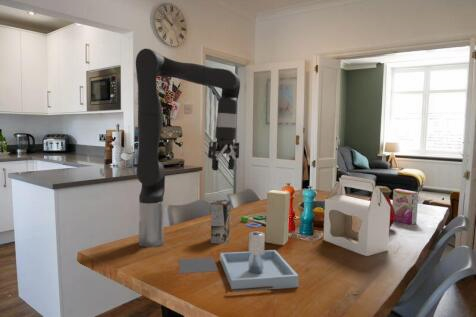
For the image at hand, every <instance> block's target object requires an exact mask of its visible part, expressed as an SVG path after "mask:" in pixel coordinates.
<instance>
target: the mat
mask: <svg viewBox="0 0 476 317" xmlns="http://www.w3.org/2000/svg"><path fill="white" fill-rule="evenodd" d="M178 266H179V274H180V275H182V274H196V273H209V272H211V273H213V272H218V271H219V269H218V267H217V264H216V262H215V258H214V257H213V256H212V257H197V258H196V257H195V258H194V257H193V258H180V259H179V258H178Z"/></svg>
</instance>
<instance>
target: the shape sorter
mask: <svg viewBox="0 0 476 317" xmlns="http://www.w3.org/2000/svg"><path fill="white" fill-rule="evenodd" d="M295 217H296V218H295ZM295 217H294V218H295V220H294V221H296V220H300V219H301V217H299V216H298V215H295ZM299 218H300V219H299ZM249 221H252V222H251V223H248V222H249ZM240 222H242V223H243V222H244V223H246V224H245V227H249V228H253V229H256V228H259V227H262V226H263V225H264V226H266V212H263V213H262V212H261V213H257V214H250V215H246V216H241V217H240Z"/></svg>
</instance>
